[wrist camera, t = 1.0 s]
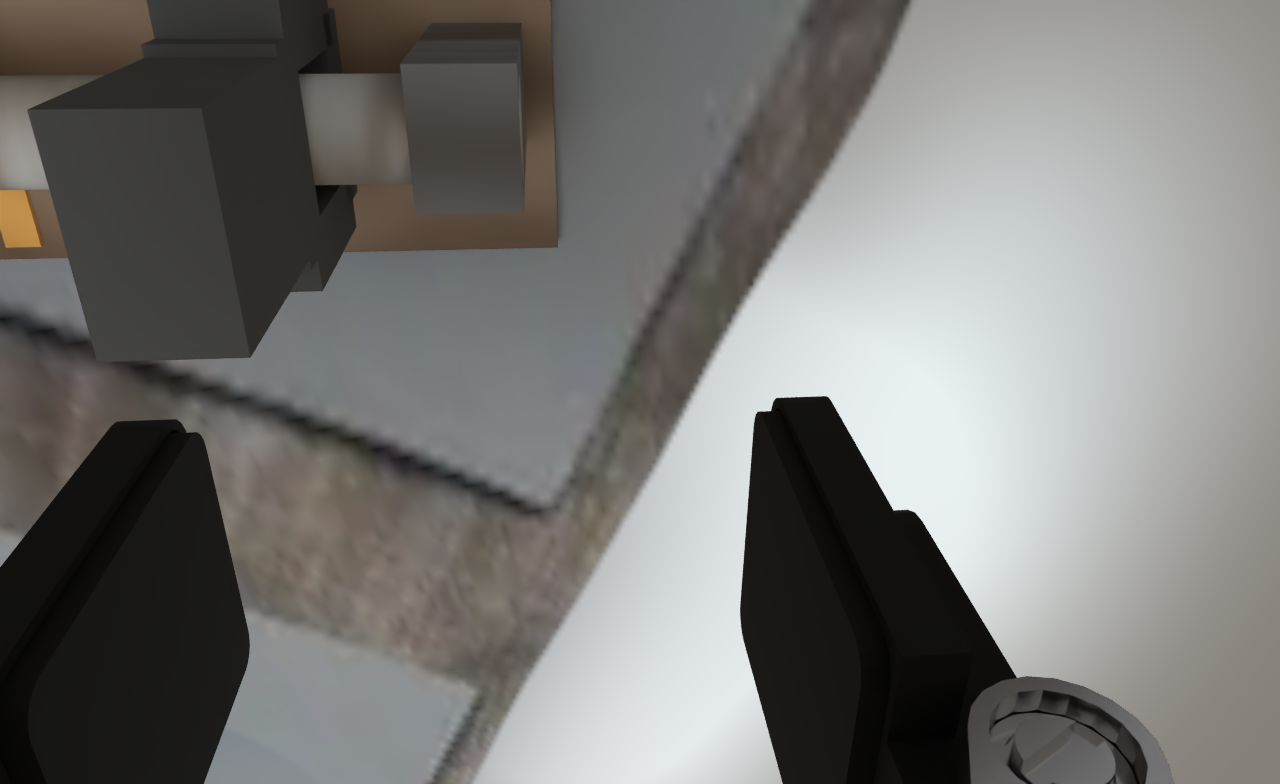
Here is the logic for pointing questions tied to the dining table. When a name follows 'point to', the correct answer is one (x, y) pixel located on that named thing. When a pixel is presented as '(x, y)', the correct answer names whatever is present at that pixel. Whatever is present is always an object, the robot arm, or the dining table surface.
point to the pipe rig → (337, 117)
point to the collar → (197, 180)
